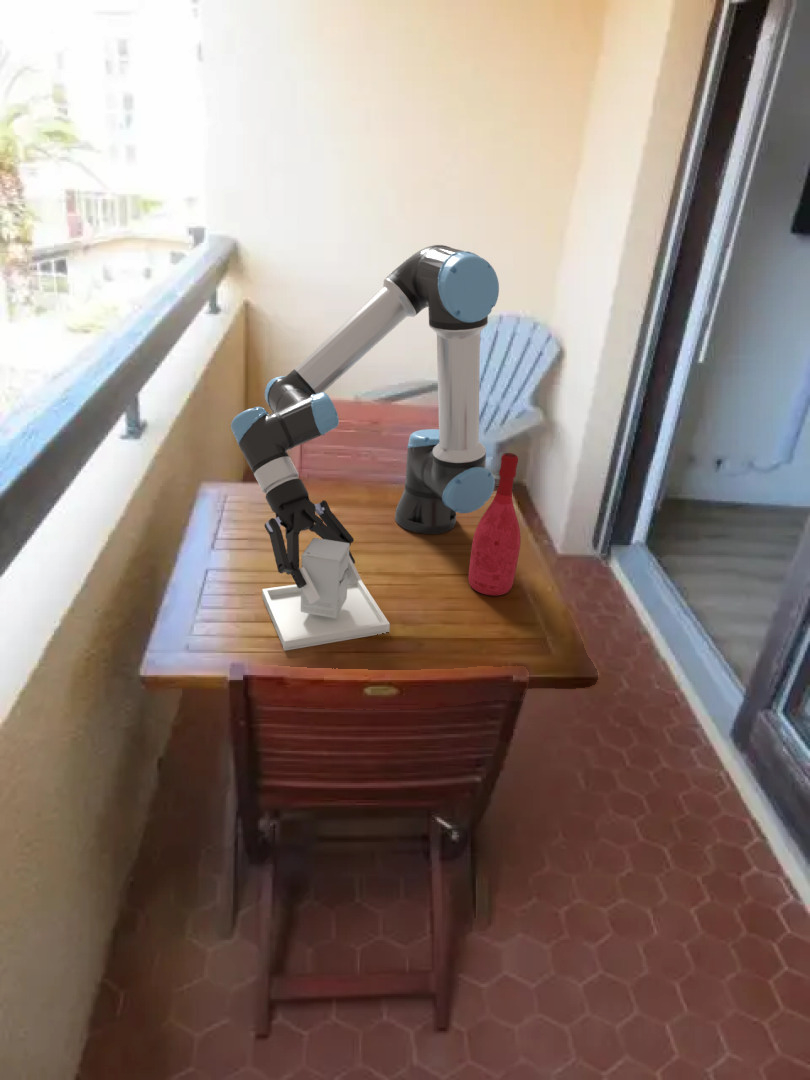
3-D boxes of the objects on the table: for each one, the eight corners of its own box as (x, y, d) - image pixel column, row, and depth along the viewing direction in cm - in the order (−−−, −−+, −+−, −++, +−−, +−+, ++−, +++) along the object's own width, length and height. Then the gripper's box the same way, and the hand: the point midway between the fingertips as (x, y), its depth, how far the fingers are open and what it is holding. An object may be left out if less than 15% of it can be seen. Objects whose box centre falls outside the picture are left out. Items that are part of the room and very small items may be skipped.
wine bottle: (516, 580, 156) (539, 451, 142) (507, 602, 148) (530, 467, 134) (473, 570, 158) (491, 441, 144) (461, 591, 150) (479, 457, 136)
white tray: (357, 583, 149) (358, 575, 148) (389, 632, 135) (389, 623, 134) (262, 597, 142) (262, 589, 141) (284, 650, 127) (284, 641, 127)
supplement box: (337, 619, 134) (339, 561, 128) (299, 612, 135) (300, 554, 129) (348, 599, 140) (350, 542, 134) (311, 592, 141) (313, 536, 135)
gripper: (317, 480, 145) (367, 577, 144) (224, 510, 130) (279, 619, 129) (336, 464, 140) (388, 565, 138) (241, 493, 125) (299, 607, 123)
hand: (336, 591), depth 134 cm, fingers closed on supplement box, 10 cm apart
